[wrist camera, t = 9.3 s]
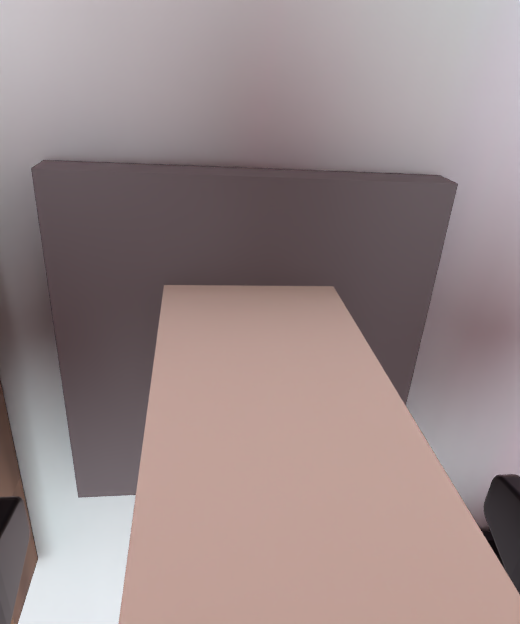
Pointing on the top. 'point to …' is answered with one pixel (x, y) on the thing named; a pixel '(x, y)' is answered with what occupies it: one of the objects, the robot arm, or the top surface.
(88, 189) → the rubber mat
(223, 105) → the top surface
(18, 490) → the pocket block
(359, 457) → the pink block
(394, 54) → the top surface
